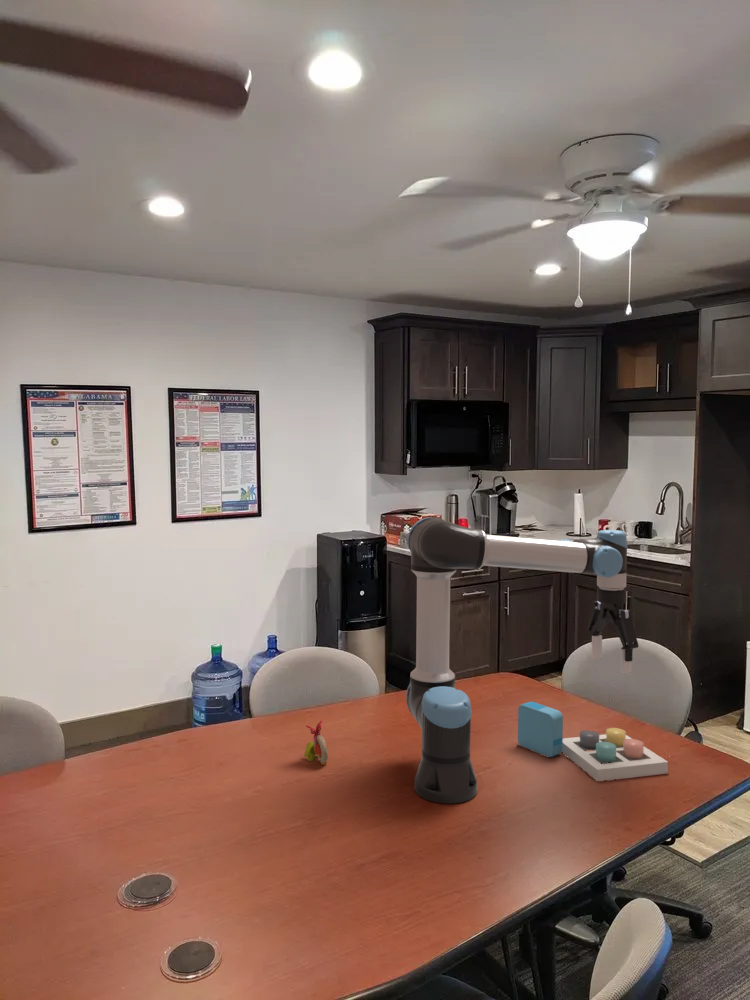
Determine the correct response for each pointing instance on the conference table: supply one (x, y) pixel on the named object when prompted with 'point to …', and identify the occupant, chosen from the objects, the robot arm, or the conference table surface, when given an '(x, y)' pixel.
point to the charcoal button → (589, 739)
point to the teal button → (606, 751)
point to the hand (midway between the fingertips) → (611, 665)
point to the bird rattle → (317, 746)
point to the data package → (540, 728)
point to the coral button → (633, 748)
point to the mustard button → (615, 736)
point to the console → (617, 768)
